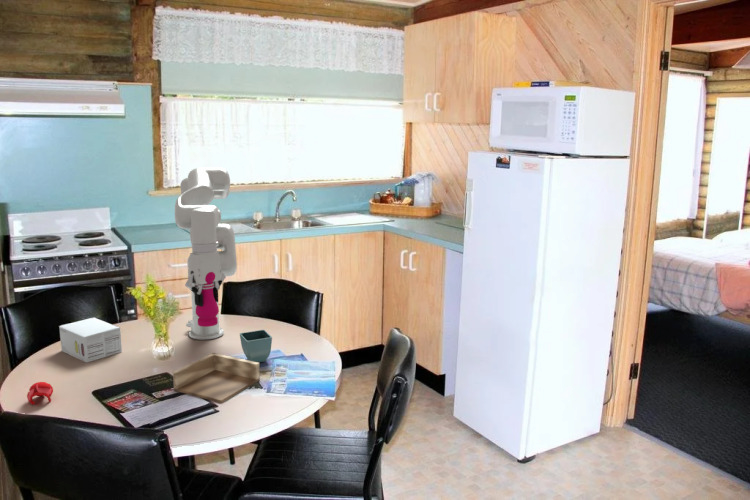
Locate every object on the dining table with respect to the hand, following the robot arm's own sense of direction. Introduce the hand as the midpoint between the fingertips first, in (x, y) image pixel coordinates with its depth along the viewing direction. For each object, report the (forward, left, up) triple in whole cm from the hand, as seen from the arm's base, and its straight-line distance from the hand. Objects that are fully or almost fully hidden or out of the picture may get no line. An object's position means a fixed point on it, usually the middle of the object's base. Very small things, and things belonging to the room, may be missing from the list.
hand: (206, 302), depth 201 cm
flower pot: (+10, +12, -22) cm, 27 cm away
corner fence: (+12, -10, -22) cm, 27 cm away
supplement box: (-45, -8, -22) cm, 51 cm away
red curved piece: (-25, -42, -22) cm, 54 cm away
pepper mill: (0, 0, -7) cm, 7 cm away
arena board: (+12, -10, -22) cm, 27 cm away
